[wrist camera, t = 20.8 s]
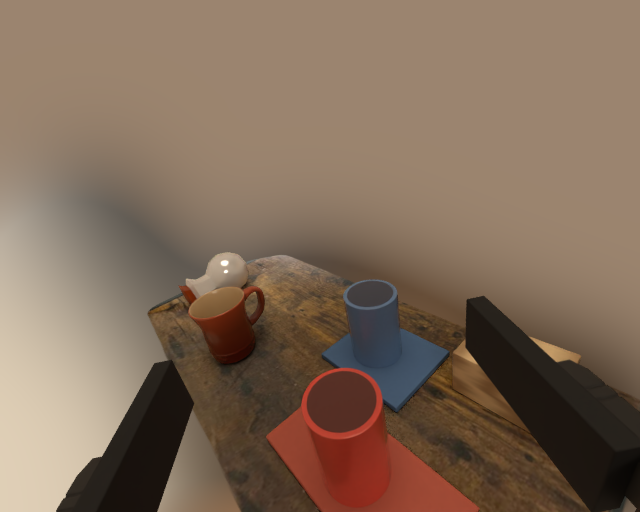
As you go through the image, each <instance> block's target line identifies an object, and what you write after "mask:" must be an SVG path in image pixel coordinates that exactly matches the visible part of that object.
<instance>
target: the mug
mask: <svg viewBox="0 0 640 512" xmlns="http://www.w3.org/2000/svg"><path fill="white" fill-rule="evenodd" d="M253 292H256V294H257V299H258V306H257V309H256V310H255V312H254V313H253V314H252V315H250V316H247V313H246V309H245V301H246V299H247V298H248V296H249V295H250V294H251V293H253ZM264 305H265V300H264V295H263V292H262V290H261V289H260V288H258V287H256V286H250V287H248V288H245V289H243V290H242V289H241V288H239V287H223V288H219V289H215V290H213V291H210V292H208V293H206V294H204V295H202V296H201V297H199V298H198V299H196V300H195V301H194V302H193V303H192V304H191V306H190V308H189V310H188V313H189V316H190V317H191V318H192V319H193V320H194V321H195V322H196V323H197V324H198V325H199V327H200V328H201V330H202V332H203V335H204V337H205V340H206V343H207V345H208V347H209V350H210V352H211V354H212V355H213V357H214V358H215V359H216V360H217V361H218V362H220V363H223V364H230V363H235V362H238V361H240V360H242V359H244V358H245V357H246V356H248V355H249V354H250V353H251V351H252V350H253V348H254V346H255V335H254V331H253V329H252V325H253V324H255V323H256V321H257V320H258V319H259V317H260V316H261V314H262V312H263V310H264Z"/></svg>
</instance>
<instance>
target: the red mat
mask: <svg viewBox="0 0 640 512" xmlns="http://www.w3.org/2000/svg"><path fill="white" fill-rule="evenodd" d="M387 436H388V443H389V451H390V458H391V467H392V473H391V480H390V483H389V486H388V488H387V490H386V491H385V493H384V494H383V495H382V496H381V497H380V498H379V499H378V500H377V501H376V502H374V503H372V504H371V505H368V506H365V507H358V508H355V507H348V506H345V505H343V504H341V503H339V502H337V501H336V500H335V499H334V498H333V497H332V496H331V495H330V494H329V493H328V491H327V490H326V488H325V486H324V483H323V481H322V477H321V474H320V471H319V468H318V464H317V461H316V458H315V454H314V451H313V448H312V445H311V441H310V438H309V435H308V432H307V428H306V425H305V422H304V418H303V415H302V409H301V407H300V408H299V409H298V410H296V411H295V412H294V413H293V414H292V415H291V416H289V417H288V418H287V419H286V420H285V421H283V422H282V423H281V424H280V425H279V426H277V427H276V428H275V429H274V430H273V431H272V432H270V433H269V434H268V435H267V436H266V438H267V440H268V442H269V443H270V444H271V446H272V447H273V448H274V450H275V451H276V452H277V454H278V455H279V456H280V458H281V459H282V460H283V462H284V463H285V464H286V466H287V467H288V468H289V470H290V471H291V472H292V474H293V475H294V476H295V478H296V479H297V480H298V482H299V483H300V484H301V486H302V487H303V488H304V490H305V491H306V492H307V494H308V495H309V497H310V498H311V499H312V501H313V502H314V503H315V505H316V506H317V507H318V509H319V510H320V511H321V512H479V507H478V506H476V505H475V504H474V503H473V502H471V501H470V500H469V499H468V498H467V497H465V496H464V495H463V494H462V493H461V492H459V491H458V490H457V489H456V488H454V487H453V486H452V485H451V484H450V483H448V482H447V481H446V480H445V479H443V478H442V477H441V476H440V475H439V474H437V473H436V472H435V471H434V470H433V469H431V468H430V467H429V466H428V465H426V464H425V463H424V462H423V461H422V460H420V459H419V458H418V457H417V456H415V455H414V454H413V453H412V452H411V451H409V450H408V449H407V448H406V447H405V446H403V445H402V444H401V443H400V442H398V441H397V440H396V439H395V438H394V437H392V436H391V435H390V434H389V433H387Z"/></svg>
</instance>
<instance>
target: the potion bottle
mask: <svg viewBox="0 0 640 512" xmlns="http://www.w3.org/2000/svg"><path fill="white" fill-rule="evenodd" d="M248 273H249V271H248V268H247V265H246V262H245V261H244V260H243V259H242V258H241V257H240V256H239V255H238V254H234V253H229V252H226V253H221V254H217V255H215V256H214V257H213V258H212V259H211V260H210V261H209V262H208V266H207V270H206V274H205V275H204V276H202V277H201V278H199V279H197V280H192V279H186V286H179V288H180V289H181V291H182V293H183V295H184V296H185V298H186V299H187V301H188V302H189V303H190V304H192V303H193V302H194V301H195V300H196V299H198V298H199V297H201V296H202V295H204V294H206V293H208V292H210V291H213V290H215V289H219V288H223V287H239V288H241V287H242V286H243V285H244V284H245V283H246V282H247V278H248Z"/></svg>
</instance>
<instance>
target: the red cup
mask: <svg viewBox="0 0 640 512" xmlns="http://www.w3.org/2000/svg"><path fill="white" fill-rule="evenodd" d="M301 409H302V415H303V418H304V422H305V425H306V428H307V432H308V435H309V438H310V441H311V445H312V448H313V451H314V454H315V458H316V461H317V464H318V468H319V471H320V474H321V477H322V481H323V483H324V486H325V488H326V490H327V491H328V493H329V494H330V495H331V496H332V497H333V498H334V499H335V500H336V501H337V502H339V503H341V504H343V505H345V506H348V507H355V508H358V507H365V506H368V505H371V504H372V503H374V502H376V501H377V500H378V499H379V498H380V497H381V496H382V495H383V494H384V493H385V491H386V490H387V488H388V486H389V483H390V480H391V473H392V467H391V458H390V451H389V443H388V436H387V428H386V421H385V413H384V406H383V398H382V393H381V390H380V388H379V386H378V384H377V383H376V381H375V380H374V379H373V378H372V377H370V376H369V375H368V374H366V373H365V372H362V371H360V370H357V369H352V368H337V369H333V370H330V371H327V372H325V373H323V374H321V375H319V376H318V377H317V378H315V379H314V380H313V381H312V382H311V383H310V384H309V386H308V387H307V389H306V391H305V393H304V395H303V398H302V405H301Z"/></svg>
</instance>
